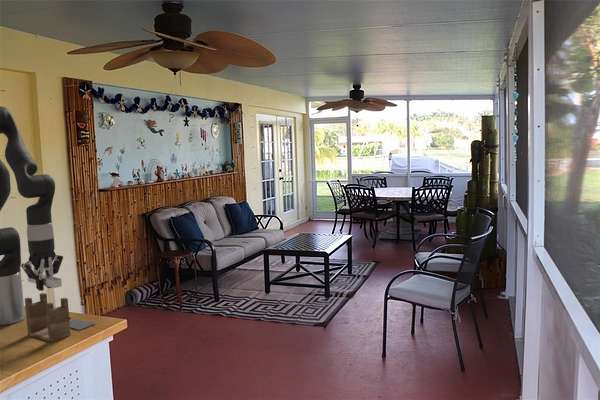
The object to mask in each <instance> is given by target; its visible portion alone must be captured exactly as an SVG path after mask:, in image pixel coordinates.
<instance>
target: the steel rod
mask: <svg viewBox="0 0 600 400" xmlns="http://www.w3.org/2000/svg"><path fill="white" fill-rule="evenodd" d="M42 279H43V285H44V287H46V286H48V287H52V288H53V289H57V288H59V287H60V288H61V287H62V286H63V284H62V282H63V281H62V278H59V277H55V276H53V277H51V276H46V274H43V276H42ZM27 282H28V283H31V284H32V283H33V284H36V280H34V279H30V278H29V277H28V276H27ZM52 288H51V289H52Z"/></svg>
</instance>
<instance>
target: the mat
mask: <svg viewBox="0 0 600 400" xmlns="http://www.w3.org/2000/svg"><path fill="white" fill-rule="evenodd" d="M95 325H96V323H93V322H90V321H86V320H81V319H78V318H73V319H72V320H70V330H71V329H72V330H75V331H78V332H81V331H83V330H86V329H87V328H90V327H92V326H93V327H94V326H95Z"/></svg>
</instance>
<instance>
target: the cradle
mask: <svg viewBox="0 0 600 400" xmlns="http://www.w3.org/2000/svg"><path fill="white" fill-rule="evenodd" d="M24 309H25V319H26V326H27V328H26V329H27V335H28V336H31V337H33V338H38V339H41V340H44V341H46V342H50V343H56V342H57V341H59V340H63V339H64V338H67V337H70V336H71V335H72V333H71V328H70V321H71V320H70V318H69V317H70V312H69V311H70V310H69V299H68V297H62V298H60V306H58V307H55V308H54V303H52V302H48V295H47V293H45V292H41V293H39V301H36V302H33V298H32V297H25V298H24Z"/></svg>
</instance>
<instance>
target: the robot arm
mask: <svg viewBox="0 0 600 400" xmlns="http://www.w3.org/2000/svg"><path fill="white" fill-rule="evenodd" d="M0 134H3V135H4V136H5V137H6V138H7V143H6V145H5V150H4V158H5V161H6V163H7V164H8V166H9V167H10V169H11V170H12V172H13V175H14V177H15V181H16V186H17V192H18V194H19V195H20V196H22V197H23V198H25V199H33V198H38V200H37V202H36V203H34V204H31V205H28V206H27V207H26V210H25V213H26V215H25V216H26V224H27V226H26V237H27V247H28V253H29V257H28V261H26V262H23V263H22V256H21V255H22V254H21V253H22V251H21V250H22V249H21V248H22V247H21V237H20V234H19V231H18V230H17V229H16V228H15V227H12V226H11V227H10V226H9V227H3V228H0V257H1V256H3V257H2V258H1V260H0V326H1V325H10V324H11V325H12V324H17V323H18V322H21V321H23V320H25V319H26V311H25V300H24V293H23V284H22V283H23V282H22V272H21V268H22V270H23V271H24V273H25V274H26V276H27V278H28V277H29V278H30V279H34V280H36V283H35V288H36V290H38V291H40V292H43V291H45V288H44V287H46V288H47V289H52V287H48V286H44V285H43V279H42V276H43V275H46V276H51V277H54V275H56V274H58V273H59V271H60V268H61V265H62V262H63V259H64V256H63V255H58V254H56V252H55V250H56V249H55V248H56V247H55V246H56V245H55V235H54V234H55V233H54V232H55V231H54V227H53V222H52V221H53V219H52V207H53V201H54V196H55V192H56V183H55V180H54V179H53V176H51V175H50V174H36V173H37V172H38V164H37V163H36V161H35V159H34V158H33V157H32V155H31V153H30V152H29V151H28V149H27V147H26V146H25V143H24V141H23V137H22V135H21V133H20V130H19V128H18V126H17V123H16V120H15V119H14V117H13V114H12V112H11V111H10V110H9V108H7V107H6V106H5V107H4V106H1V105H0ZM11 190H12V189H11V173H10V171H9V169H8V167H7V166H6V164H5V163H4V162H3V161H2V160H1V158H0V212H1V211H2V210H3V208H4V206H5V204H6V202H7V201H8V199H9V197H10V195H11ZM32 266H33V267H32Z"/></svg>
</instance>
